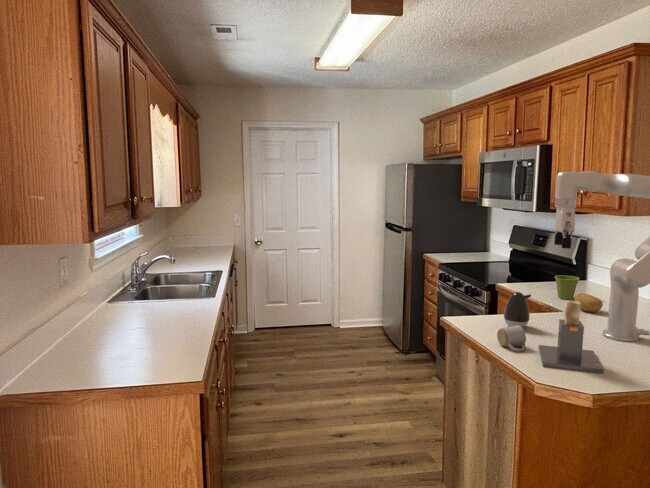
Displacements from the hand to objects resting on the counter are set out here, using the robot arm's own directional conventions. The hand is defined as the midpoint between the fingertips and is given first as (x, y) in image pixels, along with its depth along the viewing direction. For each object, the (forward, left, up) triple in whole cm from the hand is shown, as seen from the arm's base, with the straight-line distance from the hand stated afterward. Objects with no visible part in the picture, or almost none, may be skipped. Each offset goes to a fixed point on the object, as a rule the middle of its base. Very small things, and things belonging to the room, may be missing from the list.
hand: (562, 246), depth 191 cm
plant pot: (-11, -66, -36) cm, 76 cm away
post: (-1, +30, -34) cm, 45 cm away
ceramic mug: (+17, +22, -37) cm, 46 cm away
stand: (-1, +30, -36) cm, 47 cm away
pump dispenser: (+15, -5, -36) cm, 40 cm away
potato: (-18, -42, -36) cm, 58 cm away
